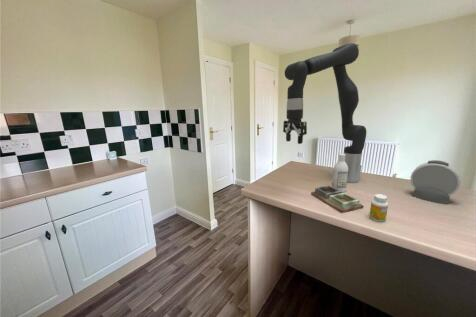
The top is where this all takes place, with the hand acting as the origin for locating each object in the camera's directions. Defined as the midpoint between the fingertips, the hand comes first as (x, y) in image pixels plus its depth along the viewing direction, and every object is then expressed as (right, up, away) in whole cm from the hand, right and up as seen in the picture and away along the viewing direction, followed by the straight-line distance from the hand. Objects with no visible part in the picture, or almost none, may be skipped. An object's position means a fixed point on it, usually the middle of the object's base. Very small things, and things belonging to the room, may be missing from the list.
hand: (293, 142), depth 95 cm
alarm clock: (+65, -27, -3) cm, 70 cm away
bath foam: (+27, -25, +9) cm, 38 cm away
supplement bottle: (+29, -32, -18) cm, 47 cm away
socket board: (+19, -28, -2) cm, 34 cm away
